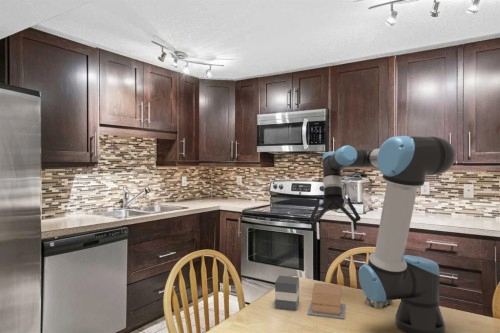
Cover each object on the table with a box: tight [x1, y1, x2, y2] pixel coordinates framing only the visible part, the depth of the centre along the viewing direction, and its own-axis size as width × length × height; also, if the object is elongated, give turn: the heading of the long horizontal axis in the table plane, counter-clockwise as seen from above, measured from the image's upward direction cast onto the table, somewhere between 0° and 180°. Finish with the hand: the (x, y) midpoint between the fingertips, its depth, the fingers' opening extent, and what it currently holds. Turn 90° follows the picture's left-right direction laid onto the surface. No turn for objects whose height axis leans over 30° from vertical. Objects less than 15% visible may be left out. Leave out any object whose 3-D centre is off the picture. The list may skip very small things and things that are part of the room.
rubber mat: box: [307, 299, 346, 320], centre depth 132 cm, size 13×13×1 cm
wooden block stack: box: [311, 282, 342, 316], centre depth 132 cm, size 10×10×8 cm
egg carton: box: [363, 294, 393, 309], centre depth 138 cm, size 11×8×4 cm
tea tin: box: [274, 275, 300, 312], centre depth 136 cm, size 8×8×10 cm
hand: (335, 238), depth 140 cm, fingers open, 13 cm apart
